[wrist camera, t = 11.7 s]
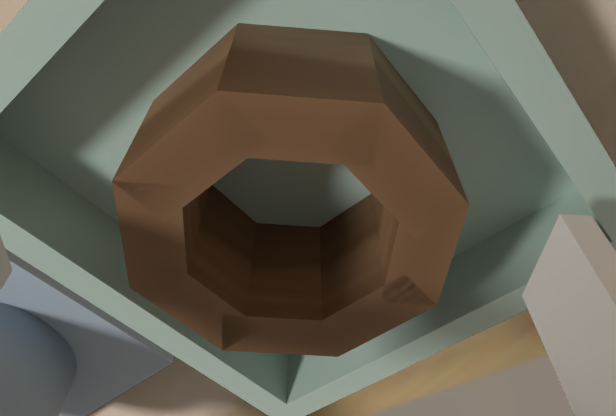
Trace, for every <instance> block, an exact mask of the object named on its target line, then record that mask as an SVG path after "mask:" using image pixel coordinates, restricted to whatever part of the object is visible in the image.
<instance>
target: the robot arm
mask: <svg viewBox="0 0 616 416" xmlns="http://www.w3.org/2000/svg"><path fill="white" fill-rule="evenodd" d="M12 271H13V270H12V267H11V264H10V261H9V258H8V255H7V252H6V250H5V247H4V244H3V241H2V238H1V235H0V291H1V289H2V287H3V286H4V284H5V282H6V281H7V279H8V277H9V276H10V274H11V272H12ZM522 297H523V299H524V301H525V304H526V306H527V308H528V311H529V313H530V315H531V318H532V320H533V322H534V324H535V327H536V329H537V331H538V334H539V336H540V338H541V341H542V343H543V345H544V347H545V350H546V352H547V354H548V357H549V359H550V361H551V363H552V366H553V368H554V370H555V373H556V375H557V377H558V379H559V382H560V384H561V386H562V388H563V391H564V393H565V396H566V398H567V400H568V403H569V405H570V407H571V409H572V412H573V414H574V416H616V251H615V250H614V248H613V247H612V245H611V244H610V242H609V241H608V239H607V238H606V236H605V235H604V233H603V232H602V230H601V229H600V227H599V226H598V225H597V223H596V222H595V220H594V219H593V217H592V216H586V215H569V214H560V215H559V217H558V219H557V221H556V223H555V225H554V228H553V230H552V232H551V234H550V236H549V238H548V240H547V243H546V245H545V247H544V249H543V251H542V253H541V256H540V258H539V260H538V262H537V264H536V266H535V268H534V271H533V273H532V275H531V277H530V279H529V281H528V283H527V286H526V288H525V290H524V292H523V294H522Z"/></svg>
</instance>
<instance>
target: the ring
mask: <svg viewBox="0 0 616 416" xmlns="http://www.w3.org/2000/svg"><path fill="white" fill-rule="evenodd" d="M247 158H254V159H268V160H283V161H297V162H311V163H325V164H339V165H345V166H346V167H347V168H348V169H349V170H350V171H351V173H352V174H353V175H354V176H355V177H356V178H357V179H358V180H359V181H360V182H361V183H362V184H363V185H364V186H365V187H366V188H367V189H368V190H369V191H370V192H371V194H370V195H368V196H367V197H365V198H364V199H362V200H361V201H359V202H358V203H356V204H355V205H353V206H351V207H350V208H348V209H347V210H345V211H344V212H342V213H341V214H339V215H338V216H336V217H335V218H333V219H331V220H330V221H328V222H327V223H325V224H324V225H322V226H321V227H310V226H295V225H279V224H264V223H256V222H255V221H254V220H253V219H251V218H250V217H249V216H248V215H247V214H246V213H244V212H243V211H242V210H241V209H240V208H239V207H238V206H236V205H235V204H234V203H233V202H232V201H231V200H229V199H228V198H227V197H226V196H225V195H224V194H222V193H221V192H220V191H219V190H218V189H217V188H215V187H214V186H213V184H214V183H216V182H217V181H218V180H220V179H221V178H222V177H223V176H225V175H226V174H227V173H229V172H230V171H231V170H233V169H234V168H235V167H237V166H238V165H239V164H240V163H242V162H243V161H244V160H246V159H247ZM112 185H113V191H114V197H115V203H116V209H117V215H118V221H119V227H120V233H121V239H122V245H123V251H124V257H125V263H126V269H127V275H128V281H129V288H131V289H132V290H134V291H135V292H137V293H138V294H140V295H141V296H143V297H144V298H146V299H147V300H149V301H150V302H152V303H153V304H155V305H156V306H157V307H159V308H160V309H162V310H163V311H165V312H166V313H168V314H169V315H171V316H172V317H174V318H175V319H177V320H178V321H180V322H181V323H183V324H184V325H186V326H187V327H188V328H190V329H191V330H193V331H194V332H196V333H197V334H199V335H200V336H202V337H203V338H205V339H206V340H208V341H209V342H211V343H212V344H214V345H215V346H216V347H218V348H219V349H221V350H222V351H239V352H258V353H276V354H295V355H313V356H332V357H339V356H341V355H343V354H345V353H347V352H349V351H351V350H352V349H354V348H356V347H358V346H360V345H362V344H364V343H366V342H368V341H370V340H372V339H374V338H376V337H378V336H379V335H381V334H383V333H385V332H387V331H389V330H391V329H393V328H395V327H397V326H399V325H401V324H403V323H404V322H406V321H408V320H410V319H412V318H414V317H416V316H418V315H420V314H422V313H424V312H426V311H428V310H430V309H431V308H433V307H435V306H437V304H438V301H439V298H440V295H441V292H442V289H443V286H444V282H445V279H446V276H447V273H448V270H449V267H450V264H451V261H452V258H453V255H454V252H455V249H456V246H457V243H458V240H459V237H460V233H461V230H462V227H463V224H464V221H465V218H466V215H467V212H468V209H469V206H470V205H469V202H468V200H467V197H466V194H465V192H464V189H463V187H462V184H461V182H460V179H459V177H458V174H457V171H456V169H455V166H454V164H453V161H452V159H451V156H450V153H449V151H448V148H447V146H446V143H445V141H444V138H443V136H442V133H441V130H440V128H439V125H438V123H437V121H436V120H435V118H434V117H433V116H432V114H431V113H430V112H429V111H428V109H427V108H426V107H425V106H424V104H423V103H422V102H421V101H420V99H419V98H418V97H417V95H416V94H415V93H414V92H413V90H412V89H411V88H410V87H409V85H408V84H407V83H406V82H405V80H404V79H403V78H402V77H401V75H400V74H399V73H398V71H397V70H396V69H395V68H394V66H393V65H392V64H391V63H390V61H389V60H388V59H387V58H386V56H385V55H384V54H383V52H382V51H381V50H380V49H379V47H378V46H377V45H376V44H375V42H374V41H373V40H372V39H371V37H370V36H369V35H368V33H356V32H344V31H332V30H319V29H307V28H295V27H283V26H271V25H258V24H246V23H238V24H237V25H235V26H234V27H233V28H232V29H231V30H230V31H229V32H228V33H227V34H226V35H225V36H223V37H222V38H221V39H220V40H219V41H218V42H217V43H216V44H215V45H214V46H212V47H211V48H210V49H209V50H208V51H207V52H206V53H205V54H204V55H203V56H201V57H200V58H199V59H198V60H197V61H196V62H195V63H194V64H193V65H192V66H191V67H189V68H188V69H187V70H186V71H185V72H184V73H183V74H182V75H181V76H180V77H178V78H177V79H176V80H175V81H174V82H173V83H172V84H171V85H170V86H169V87H167V88H166V89H165V90H164V91H163V92H162V93H161V94H160V95H159V96H158V97H157V98H155V99H154V100H153V102H152V104H151V106H150V108H149V110H148V112H147V114H146V116H145V118H144V120H143V122H142V124H141V126H140V127H139V129H138V131H137V133H136V135H135V137H134V139H133V141H132V143H131V145H130V147H129V149H128V151H127V153H126V155H125V157H124V158H123V160H122V162H121V164H120V166H119V168H118V170H117V172H116V174H115V176H114V178H113V180H112Z"/></svg>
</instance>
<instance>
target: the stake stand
mask: <svg viewBox="0 0 616 416" xmlns="http://www.w3.org/2000/svg"><path fill="white" fill-rule="evenodd" d="M5 250H6V252H7V255H8V258H9V261H10V264H11V267H12V270H13V271H12V272H11V274H10V276H9V277H8V279H7V281H6V282H5V284H4V286H3V287H2V289H1V291H0V416H86V415H88V414H90V413H91V412H93V411H95V410H96V409H98V408H100V407H101V406H103V405H104V404H106V403H108V402H109V401H111V400H113V399H114V398H116V397H118V396H119V395H121V394H123V393H124V392H126V391H128V390H129V389H131V388H133V387H134V386H136V385H137V384H139V383H141V382H142V381H144V380H146V379H147V378H149V377H151V376H152V375H154V374H156V373H157V372H159V371H161V370H162V369H164V368H166V367H167V366H169V365H170V364H172V363H173V361H174V357H175V356H174V355H172V354H171V353H169V352H167V351H166V350H164V349H163V348H161V347H160V346H158V345H156V344H155V343H153V342H152V341H150V340H149V339H147V338H145V337H144V336H142V335H141V334H139V333H137V332H136V331H134V330H133V329H131V328H130V327H128V326H126V325H125V324H123V323H122V322H120V321H119V320H117V319H115V318H114V317H112V316H111V315H109V314H108V313H106V312H104V311H103V310H101V309H100V308H98V307H97V306H95V305H93V304H92V303H90V302H89V301H87V300H86V299H84V298H82V297H81V296H79V295H78V294H76V293H75V292H73V291H71V290H70V289H68V288H67V287H65V286H64V285H62V284H60V283H59V282H57V281H56V280H54V279H53V278H51V277H49V276H48V275H46V274H45V273H43V272H42V271H40V270H38V269H37V268H35V267H34V266H32V265H31V264H29V263H27V262H26V261H24V260H23V259H21V258H20V257H18V256H16V255H15V254H13V253H12V252H10V251H9V250H7V249H5Z"/></svg>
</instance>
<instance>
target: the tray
mask: <svg viewBox="0 0 616 416" xmlns="http://www.w3.org/2000/svg"><path fill="white" fill-rule="evenodd" d="M238 23H246V24H258V25H271V26H283V27H295V28H307V29H319V30H332V31H344V32H356V33H368V35H369V36H370V37H371V39H372V40H373V41H374V42H375V44H376V45H377V46H378V47H379V49H380V50H381V51H382V52H383V54H384V55H385V56H386V58H387V59H388V60H389V61H390V63H391V64H392V65H393V66H394V68H395V69H396V70H397V71H398V73H399V74H400V75H401V77H402V78H403V79H404V80H405V82H406V83H407V84H408V85H409V87H410V88H411V89H412V90H413V92H414V93H415V94H416V95H417V97H418V98H419V99H420V101H421V102H422V103H423V104H424V106H425V107H426V108H427V109H428V111H429V112H430V113H431V114H432V116H433V117H434V118H435V120H436V121H437V123H438V125H439V128H440V130H441V133H442V136H443V138H444V141H445V143H446V146H447V148H448V151H449V153H450V156H451V159H452V161H453V164H454V166H455V169H456V171H457V174H458V177H459V179H460V182H461V184H462V187H463V189H464V192H465V194H466V197H467V200H468V202H469V205H470V206H469V209H468V212H467V215H466V218H465V221H464V224H463V227H462V230H461V233H460V237H459V240H458V243H457V246H456V249H455V252H454V255H453V258H452V261H451V264H450V267H449V270H448V273H447V276H446V279H445V282H444V286H443V289H442V292H441V295H440V298H439V301H438V304H437V306H435V307H433V308H431V309H430V310H428V311H426V312H424V313H422V314H420V315H418V316H416V317H414V318H412V319H410V320H408V321H406V322H404V323H403V324H401V325H399V326H397V327H395V328H393V329H391V330H389V331H387V332H385V333H383V334H381V335H379V336H378V337H376V338H374V339H372V340H370V341H368V342H366V343H364V344H362V345H360V346H358V347H356V348H354V349H352V350H351V351H349V352H347V353H345V354H343V355H341V356H339V357H332V356H313V355H295V354H276V353H258V352H239V351H222V350H221V349H219V348H218V347H216V346H215V345H214V344H212V343H211V342H209V341H208V340H206V339H205V338H203V337H202V336H200V335H199V334H197V333H196V332H194V331H193V330H191V329H190V328H188V327H187V326H186V325H184V324H183V323H181V322H180V321H178V320H177V319H175V318H174V317H172V316H171V315H169V314H168V313H166V312H165V311H163V310H162V309H160V308H159V307H157V306H156V305H155V304H153V303H152V302H150V301H149V300H147V299H146V298H144V297H143V296H141V295H140V294H138V293H137V292H135V291H134V290H132V289H131V288H129V281H128V275H127V269H126V263H125V257H124V251H123V245H122V239H121V233H120V227H119V221H118V215H117V209H116V203H115V197H114V191H113V185H112V180H113V178H114V176H115V174H116V172H117V170H118V168H119V166H120V164H121V162H122V160H123V158H124V157H125V155H126V153H127V151H128V149H129V147H130V145H131V143H132V141H133V139H134V137H135V135H136V133H137V131H138V129H139V127H140V126H141V124H142V122H143V120H144V118H145V116H146V114H147V112H148V110H149V108H150V106H151V104H152V102H153V100H154V99H155V98H157V97H158V96H159V95H160V94H161V93H162V92H163V91H164V90H165V89H166V88H167V87H169V86H170V85H171V84H172V83H173V82H174V81H175V80H176V79H177V78H178V77H180V76H181V75H182V74H183V73H184V72H185V71H186V70H187V69H188V68H189V67H191V66H192V65H193V64H194V63H195V62H196V61H197V60H198V59H199V58H200V57H201V56H203V55H204V54H205V53H206V52H207V51H208V50H209V49H210V48H211V47H212V46H214V45H215V44H216V43H217V42H218V41H219V40H220V39H221V38H222V37H223V36H225V35H226V34H227V33H228V32H229V31H230V30H231V29H232V28H233V27H234V26H235V25H237V24H238ZM213 186H214V187H215V188H217V189H218V190H219V191H220V192H221V193H222V194H224V195H225V196H226V197H227V198H228V199H229V200H231V201H232V202H233V203H234V204H235V205H236V206H238V207H239V208H240V209H241V210H242V211H243V212H244V213H246V214H247V215H248V216H249V217H250V218H251V219H253V220H254V221H255V222H256V223H264V224H279V225H295V226H310V227H321V226H322V225H324V224H325V223H327V222H328V221H330V220H331V219H333V218H335V217H336V216H338V215H339V214H341V213H342V212H344V211H345V210H347V209H348V208H350V207H351V206H353V205H355V204H356V203H358V202H359V201H361V200H362V199H364V198H365V197H367V196H368V195H370V194H371V192H370V191H369V190H368V189H367V188H366V187H365V186H364V185H363V184H362V183H361V182H360V181H359V180H358V179H357V178H356V177H355V176H354V175H353V174H352V173H351V171H350V170H349V169H348V168H347V167H346V166H345V165H339V164H325V163H311V162H297V161H283V160H268V159H254V158H247V159H246V160H244V161H243V162H242V163H240V164H239V165H238V166H237V167H235V168H234V169H233V170H231V171H230V172H229V173H227V174H226V175H225V176H223V177H222V178H221V179H220V180H218V181H217V182H216V183H214V184H213ZM560 214H569V215H586V216H592V217H593V219H594V220H595V222H596V223H597V225H598V226H599V227H600V229H601V230H602V232H603V233H604V235H605V236H606V238H607V239H608V241H609V242H610V244H611V245H612V247H613V248H614V250H615V251H616V167H615V165H614V163H613V162H612V160H611V158H610V157H609V155H608V153H607V152H606V150H605V149H604V147H603V145H602V144H601V142H600V140H599V139H598V137H597V135H596V134H595V132H594V130H593V129H592V127H591V125H590V124H589V122H588V120H587V119H586V117H585V115H584V114H583V112H582V110H581V109H580V107H579V105H578V104H577V102H576V100H575V99H574V97H573V95H572V94H571V92H570V90H569V89H568V87H567V86H566V84H565V82H564V81H563V79H562V77H561V76H560V74H559V72H558V71H557V69H556V67H555V66H554V64H553V62H552V61H551V59H550V57H549V56H548V54H547V52H546V51H545V49H544V47H543V46H542V44H541V42H540V41H539V39H538V37H537V36H536V34H535V32H534V31H533V29H532V27H531V26H530V24H529V23H528V21H527V19H526V18H525V16H524V14H523V13H522V11H521V9H520V8H519V6H518V4H517V3H516V1H515V0H29V1H28V2H27V3H26V4H25V5H24V6H23V8H22V9H21V10H20V11H19V12H18V14H17V15H16V16H15V17H14V18H13V20H12V21H11V22H10V23H9V24H8V25H7V27H6V28H5V29H4V30H3V31H2V33H1V34H0V235H1V238H2V241H3V244H4V247H5V249H7V250H9V251H10V252H12V253H13V254H15V255H16V256H18V257H20V258H21V259H23V260H24V261H26V262H27V263H29V264H31V265H32V266H34V267H35V268H37V269H38V270H40V271H42V272H43V273H45V274H46V275H48V276H49V277H51V278H53V279H54V280H56V281H57V282H59V283H60V284H62V285H64V286H65V287H67V288H68V289H70V290H71V291H73V292H75V293H76V294H78V295H79V296H81V297H82V298H84V299H86V300H87V301H89V302H90V303H92V304H93V305H95V306H97V307H98V308H100V309H101V310H103V311H104V312H106V313H108V314H109V315H111V316H112V317H114V318H115V319H117V320H119V321H120V322H122V323H123V324H125V325H126V326H128V327H130V328H131V329H133V330H134V331H136V332H137V333H139V334H141V335H142V336H144V337H145V338H147V339H149V340H150V341H152V342H153V343H155V344H156V345H158V346H160V347H161V348H163V349H164V350H166V351H167V352H169V353H171V354H172V355H174V356H175V357H177V358H178V359H180V360H182V361H183V362H185V363H186V364H188V365H189V366H191V367H193V368H194V369H196V370H197V371H199V372H200V373H202V374H204V375H205V376H207V377H208V378H210V379H211V380H213V381H215V382H216V383H218V384H219V385H221V386H222V387H224V388H226V389H227V390H229V391H230V392H232V393H233V394H235V395H237V396H238V397H240V398H241V399H243V400H244V401H246V402H248V403H249V404H251V405H252V406H254V407H255V408H257V409H259V410H260V411H262V412H263V413H265V414H266V415H268V416H306V415H308V414H310V413H312V412H314V411H316V410H319V409H321V408H323V407H325V406H327V405H329V404H331V403H333V402H335V401H337V400H339V399H342V398H344V397H346V396H348V395H350V394H352V393H354V392H356V391H358V390H360V389H362V388H364V387H367V386H369V385H371V384H373V383H375V382H377V381H379V380H381V379H383V378H385V377H387V376H390V375H392V374H394V373H396V372H398V371H400V370H402V369H404V368H406V367H408V366H410V365H412V364H415V363H417V362H419V361H421V360H423V359H425V358H427V357H429V356H431V355H433V354H435V353H438V352H440V351H442V350H444V349H446V348H448V347H450V346H452V345H454V344H456V343H458V342H460V341H463V340H465V339H467V338H469V337H471V336H473V335H475V334H477V333H479V332H481V331H483V330H485V329H488V328H490V327H492V326H494V325H496V324H498V323H500V322H502V321H504V320H506V319H508V318H511V317H513V316H515V315H517V314H519V313H521V312H523V311H525V310H527V309H528V308H527V306H526V304H525V301H524V299H523V297H522V294H523V292H524V290H525V288H526V286H527V283H528V281H529V279H530V277H531V275H532V273H533V271H534V268H535V266H536V264H537V262H538V260H539V258H540V256H541V253H542V251H543V249H544V247H545V245H546V243H547V240H548V238H549V236H550V234H551V232H552V230H553V228H554V225H555V223H556V221H557V219H558V217H559V215H560Z"/></svg>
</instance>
